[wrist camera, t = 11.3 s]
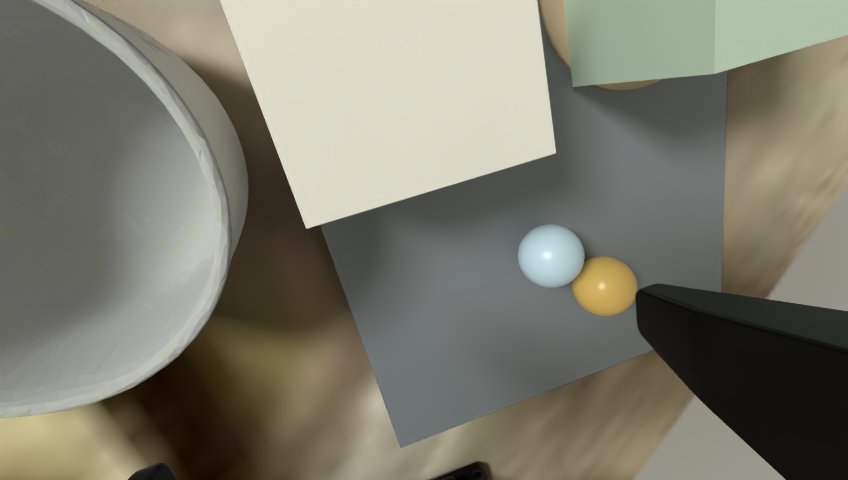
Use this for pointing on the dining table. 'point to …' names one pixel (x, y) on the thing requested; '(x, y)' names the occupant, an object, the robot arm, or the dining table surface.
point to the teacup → (105, 205)
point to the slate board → (500, 239)
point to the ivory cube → (394, 94)
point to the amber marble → (605, 286)
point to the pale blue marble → (551, 255)
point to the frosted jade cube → (690, 35)
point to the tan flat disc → (557, 36)
